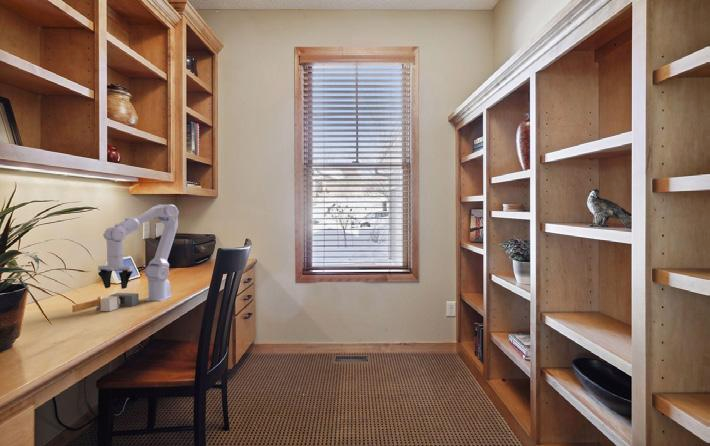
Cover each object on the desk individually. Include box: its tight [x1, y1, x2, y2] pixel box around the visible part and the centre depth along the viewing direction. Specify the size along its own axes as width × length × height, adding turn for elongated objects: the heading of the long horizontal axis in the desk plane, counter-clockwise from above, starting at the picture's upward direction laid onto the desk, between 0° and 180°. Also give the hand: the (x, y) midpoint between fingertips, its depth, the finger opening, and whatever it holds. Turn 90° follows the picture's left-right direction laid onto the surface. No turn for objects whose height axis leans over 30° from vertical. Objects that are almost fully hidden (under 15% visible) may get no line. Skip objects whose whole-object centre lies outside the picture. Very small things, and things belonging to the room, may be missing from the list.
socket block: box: [95, 292, 140, 311], centre depth 167 cm, size 11×11×5 cm
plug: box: [100, 295, 120, 312], centre depth 163 cm, size 7×4×5 cm, turn 172°
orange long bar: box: [71, 296, 103, 313], centre depth 158 cm, size 12×1×4 cm, turn 165°
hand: (115, 288), depth 165 cm, fingers open, 7 cm apart
